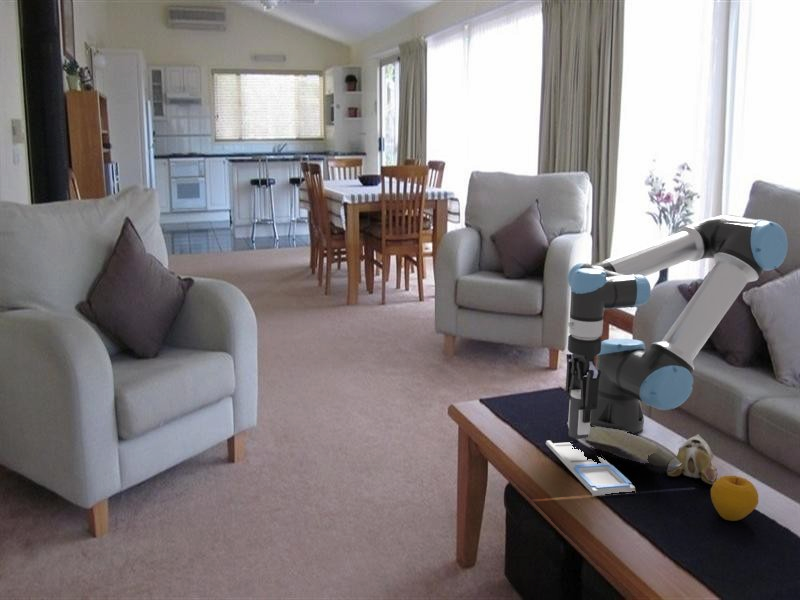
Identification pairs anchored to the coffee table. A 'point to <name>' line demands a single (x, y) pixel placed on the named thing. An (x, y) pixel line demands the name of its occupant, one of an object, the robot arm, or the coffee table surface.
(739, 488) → the apple
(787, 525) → the coffee table surface
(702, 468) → the ceramic sculpture
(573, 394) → the grey and white cylinder
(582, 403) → the robot arm
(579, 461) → the white divided tray
